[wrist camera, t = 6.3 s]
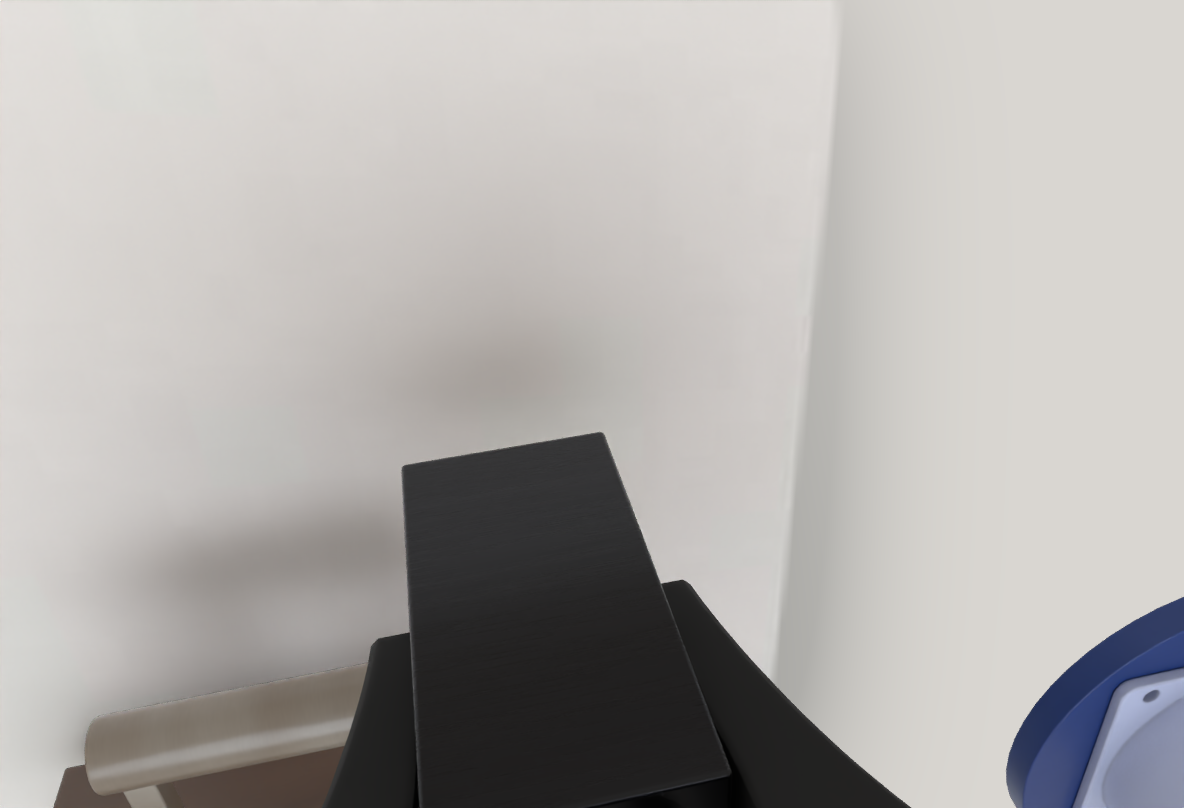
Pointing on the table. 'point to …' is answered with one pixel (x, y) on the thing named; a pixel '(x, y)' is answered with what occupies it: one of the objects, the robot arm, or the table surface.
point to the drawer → (221, 748)
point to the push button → (547, 640)
